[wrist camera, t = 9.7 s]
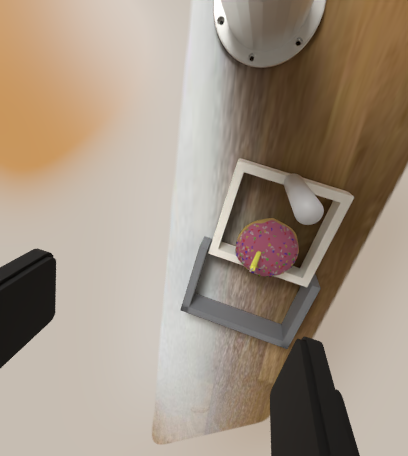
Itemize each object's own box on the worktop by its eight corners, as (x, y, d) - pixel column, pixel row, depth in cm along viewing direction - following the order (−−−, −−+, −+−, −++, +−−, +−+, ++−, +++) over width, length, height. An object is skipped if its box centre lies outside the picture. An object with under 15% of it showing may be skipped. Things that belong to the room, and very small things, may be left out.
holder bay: (204, 236, 44) (199, 246, 40) (315, 274, 42) (320, 288, 39) (186, 296, 49) (180, 310, 45) (285, 331, 47) (287, 349, 44)
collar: (241, 153, 38) (228, 171, 23) (349, 187, 36) (405, 228, 22) (211, 245, 44) (187, 304, 29) (304, 276, 42) (325, 354, 28)
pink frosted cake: (234, 255, 44) (225, 298, 33) (243, 205, 41) (236, 234, 30) (288, 265, 43) (297, 313, 32) (301, 214, 40) (317, 249, 28)
